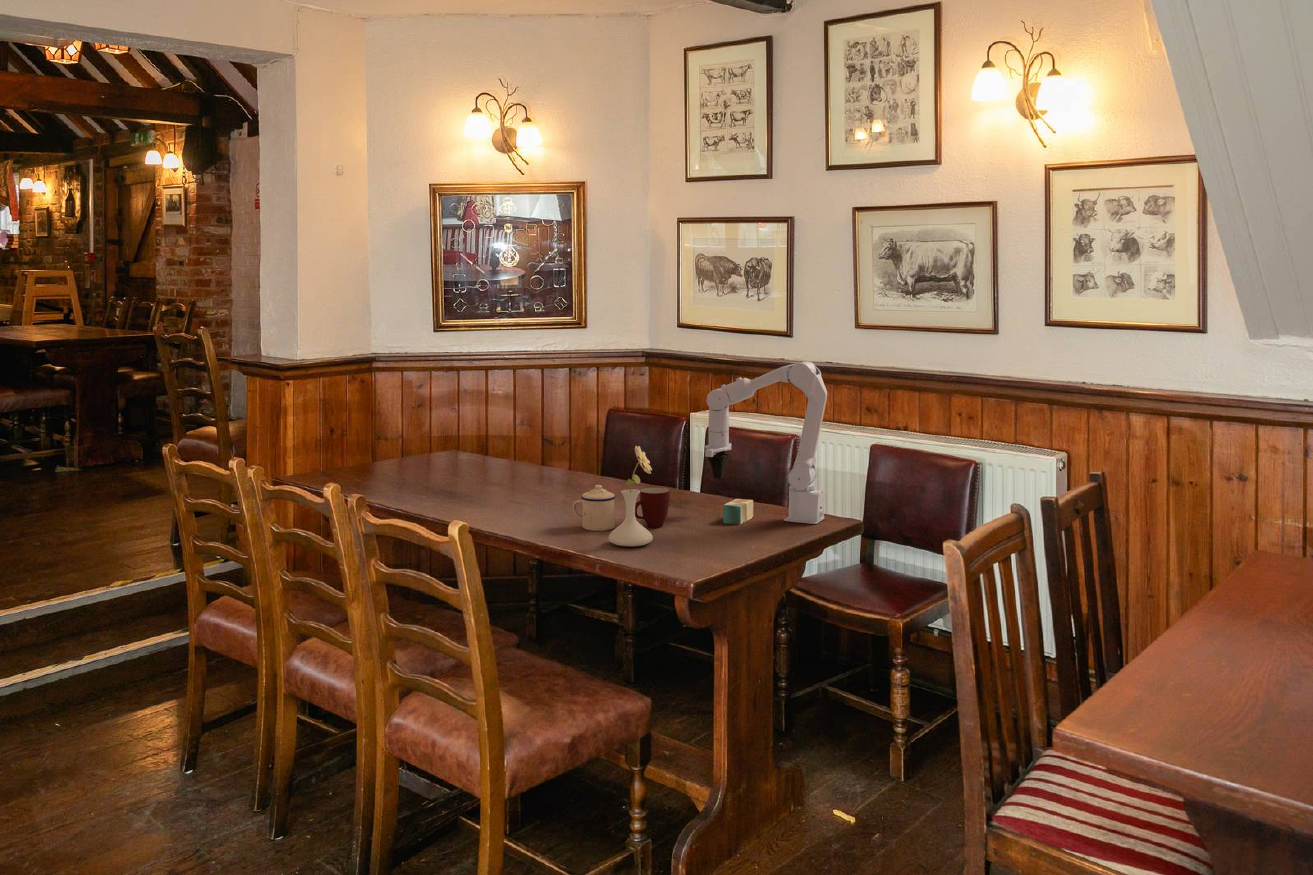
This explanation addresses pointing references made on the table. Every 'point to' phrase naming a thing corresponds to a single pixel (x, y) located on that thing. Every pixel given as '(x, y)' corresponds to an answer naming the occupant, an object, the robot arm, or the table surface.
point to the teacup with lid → (597, 509)
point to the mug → (653, 506)
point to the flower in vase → (632, 512)
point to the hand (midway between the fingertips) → (718, 478)
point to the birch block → (738, 511)
